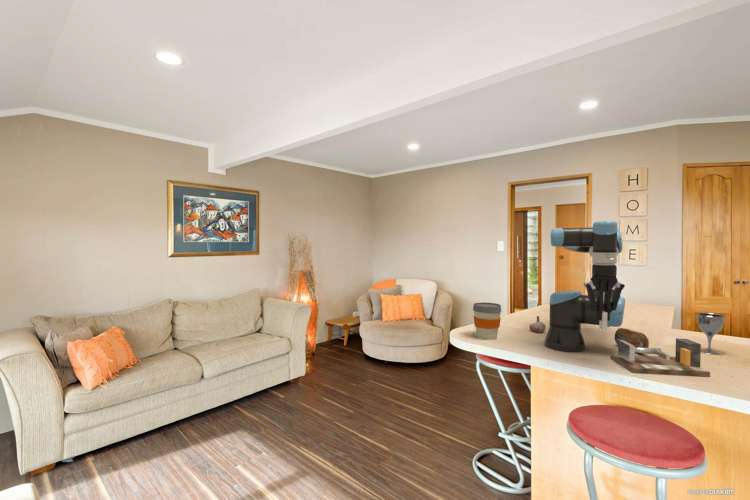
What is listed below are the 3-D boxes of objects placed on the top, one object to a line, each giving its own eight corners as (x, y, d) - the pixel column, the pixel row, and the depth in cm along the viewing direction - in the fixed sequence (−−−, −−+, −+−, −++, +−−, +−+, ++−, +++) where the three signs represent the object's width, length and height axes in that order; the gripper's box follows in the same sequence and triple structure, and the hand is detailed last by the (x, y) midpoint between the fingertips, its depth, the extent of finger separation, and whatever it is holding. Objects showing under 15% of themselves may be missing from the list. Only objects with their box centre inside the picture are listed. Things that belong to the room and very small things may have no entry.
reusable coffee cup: (471, 333, 177) (471, 302, 177) (498, 334, 176) (498, 302, 175) (474, 340, 165) (474, 306, 165) (503, 341, 163) (504, 307, 163)
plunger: (634, 364, 125) (634, 348, 125) (618, 354, 136) (618, 339, 136) (672, 366, 123) (672, 350, 123) (652, 356, 134) (653, 341, 134)
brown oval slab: (613, 345, 157) (614, 325, 157) (620, 345, 157) (621, 325, 157) (642, 356, 142) (643, 334, 142) (650, 356, 142) (650, 334, 142)
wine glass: (690, 349, 151) (691, 312, 151) (708, 348, 152) (709, 312, 152) (710, 355, 144) (711, 316, 143) (728, 354, 144) (729, 316, 144)
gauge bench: (632, 372, 124) (633, 344, 124) (610, 357, 140) (610, 333, 140) (709, 376, 120) (710, 348, 120) (678, 361, 136) (678, 335, 136)
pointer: (686, 365, 122) (686, 350, 122) (680, 362, 125) (680, 348, 125) (690, 365, 122) (690, 350, 122) (684, 362, 125) (684, 348, 125)
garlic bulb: (544, 334, 176) (544, 317, 176) (527, 332, 180) (528, 315, 180) (546, 331, 182) (546, 315, 182) (530, 329, 186) (531, 313, 186)
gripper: (588, 264, 130) (587, 331, 130) (629, 265, 127) (628, 332, 128) (580, 263, 137) (579, 326, 138) (618, 263, 135) (617, 327, 136)
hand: (603, 329), depth 133 cm, fingers closed
